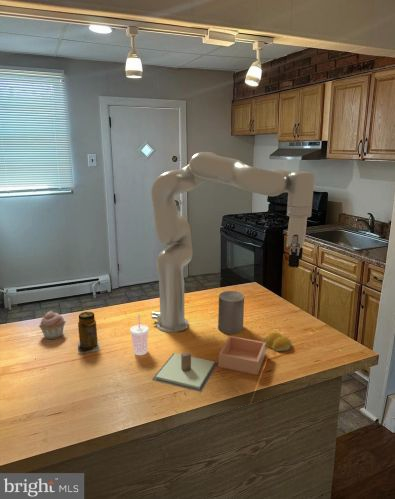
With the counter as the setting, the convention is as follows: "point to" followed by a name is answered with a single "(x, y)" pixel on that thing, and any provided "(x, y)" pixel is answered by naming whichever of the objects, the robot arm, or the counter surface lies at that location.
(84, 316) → the condiment
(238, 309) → the pillar candle
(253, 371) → the open box
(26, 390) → the counter surface
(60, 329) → the cupcake
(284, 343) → the bread roll
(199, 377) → the lid
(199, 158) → the robot arm
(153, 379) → the mat
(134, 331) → the beverage cup
